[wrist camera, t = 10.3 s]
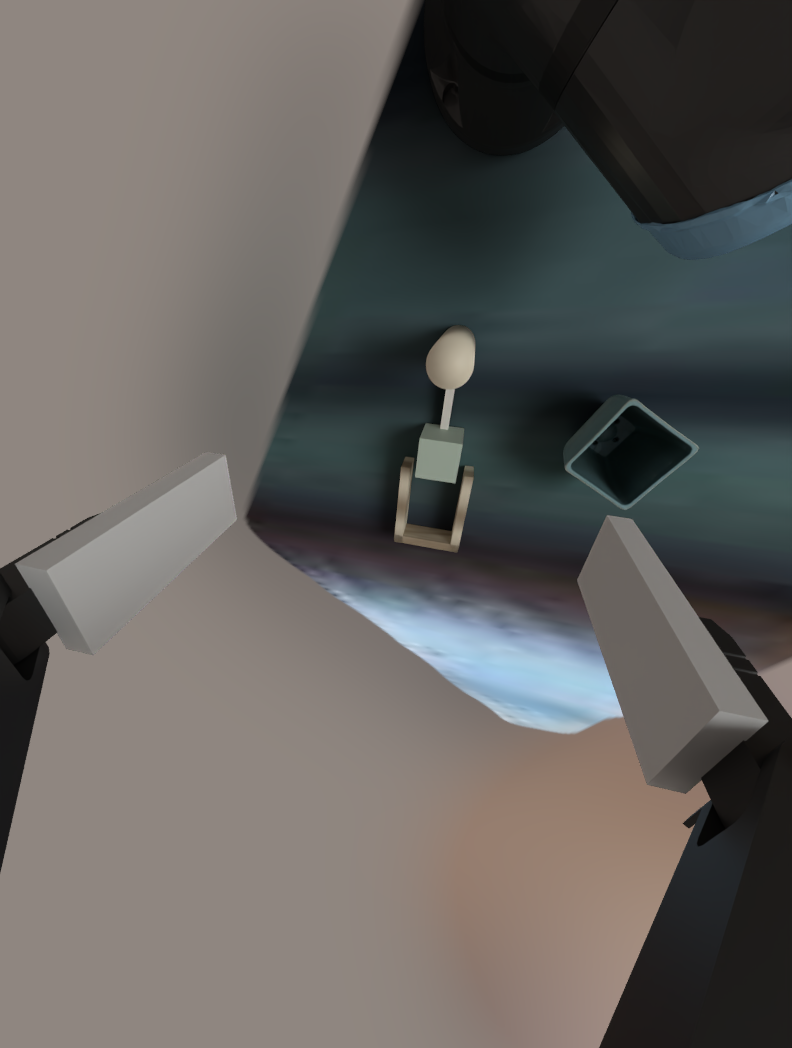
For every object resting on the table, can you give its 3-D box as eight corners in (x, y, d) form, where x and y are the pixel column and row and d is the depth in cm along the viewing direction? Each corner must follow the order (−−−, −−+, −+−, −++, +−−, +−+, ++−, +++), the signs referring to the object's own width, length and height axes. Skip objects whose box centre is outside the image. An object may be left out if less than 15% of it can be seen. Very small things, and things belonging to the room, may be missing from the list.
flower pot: (548, 440, 47) (562, 468, 39) (605, 378, 42) (633, 396, 34) (602, 477, 48) (625, 512, 40) (663, 421, 43) (702, 448, 36)
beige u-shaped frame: (405, 456, 51) (401, 466, 48) (473, 466, 50) (473, 477, 47) (398, 528, 58) (393, 541, 55) (458, 539, 57) (457, 552, 54)
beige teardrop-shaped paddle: (438, 322, 42) (423, 334, 30) (483, 327, 41) (484, 341, 30) (421, 458, 51) (404, 508, 39) (457, 464, 50) (451, 516, 39)
